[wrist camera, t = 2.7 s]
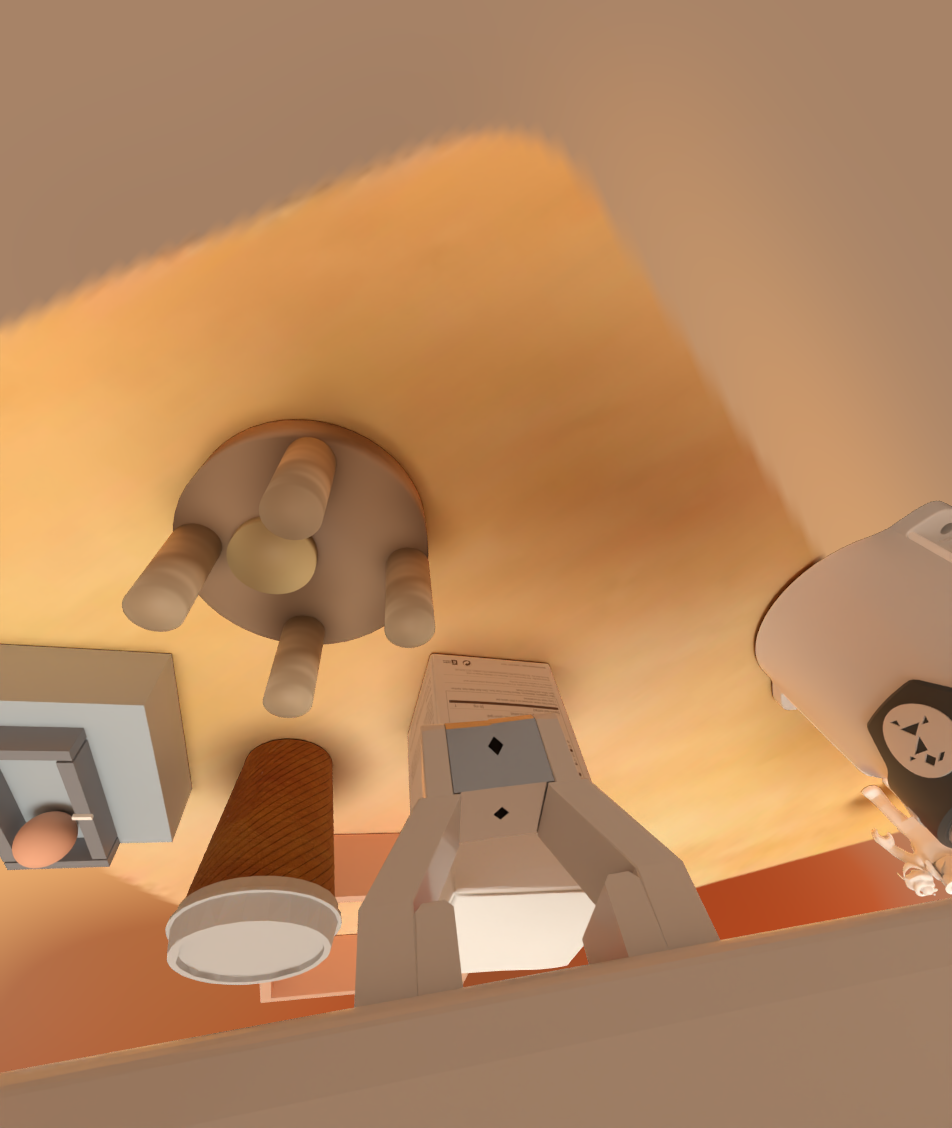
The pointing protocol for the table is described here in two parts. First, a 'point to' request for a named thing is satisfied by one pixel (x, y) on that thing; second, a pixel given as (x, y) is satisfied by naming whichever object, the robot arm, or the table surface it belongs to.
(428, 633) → the dial
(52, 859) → the indicator ball
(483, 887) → the supplement box
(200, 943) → the disposable coffee cup
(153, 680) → the stand
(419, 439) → the table surface
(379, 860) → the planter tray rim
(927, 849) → the flower shoulder figurine
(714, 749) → the table surface
